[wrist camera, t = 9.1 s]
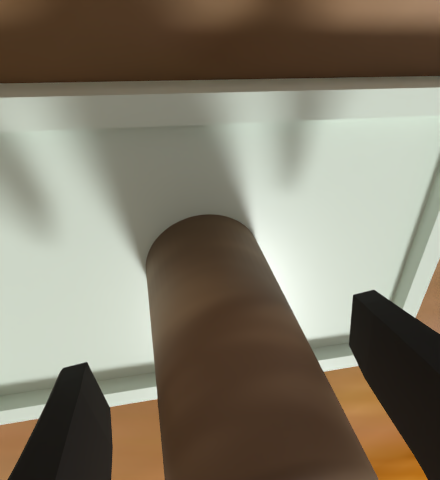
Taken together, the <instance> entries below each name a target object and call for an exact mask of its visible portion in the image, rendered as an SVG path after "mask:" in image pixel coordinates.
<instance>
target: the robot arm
mask: <svg viewBox="0 0 440 480" xmlns="http://www.w3.org/2000/svg"><path fill="white" fill-rule="evenodd" d="M349 347H350V349H351V351H352V353H353V355H354V357H355V359H356V361H357V363H358V365H359V367H360V369H361V371H362V373H363V375H364V377H365V379H366V381H367V383H368V384H369V386H370V387H371V389H372V390H373V392H374V394H375V395H376V397H377V398H378V400H379V401H380V403H381V405H382V406H383V408H384V409H385V411H386V412H387V414H388V416H389V417H390V419H391V420H392V422H393V423H394V425H395V426H396V428H397V429H398V431H399V433H400V434H401V436H402V437H403V439H404V440H405V442H406V443H407V445H408V447H409V448H410V450H411V451H412V453H413V454H414V456H415V458H416V459H417V461H418V463H419V464H420V466H421V468H422V469H423V471H424V473H425V475H426V477H427V478H428V480H440V334H439V333H437V332H435V331H434V330H432V329H431V328H429V327H428V326H426V325H425V324H423V323H422V322H420V321H419V320H418V319H416V318H415V317H413V316H412V315H410V314H409V313H407V312H406V311H404V310H403V309H402V308H400V307H399V306H397V305H396V304H394V303H393V302H391V301H390V300H388V299H387V298H386V297H384V296H383V295H381V294H380V293H378V292H377V291H375V290H370V291H366V292H362V293H358V294H354V295H353V300H352V312H351V324H350V336H349ZM111 469H112V429H111V414H110V407H109V405H108V403H107V401H106V399H105V397H104V395H103V393H102V391H101V389H100V387H99V385H98V383H97V381H96V379H95V377H94V375H93V373H92V371H91V369H90V367H89V365H88V363H87V362H84V363H80V364H77V365H73V366H69V367H65V368H63V369H62V370H61V371H60V373H59V375H58V378H57V380H56V382H55V385H54V387H53V389H52V391H51V393H50V396H49V398H48V400H47V402H46V405H45V407H44V409H43V411H42V413H41V415H40V417H39V419H38V422H37V424H36V426H35V428H34V430H33V432H32V434H31V436H30V438H29V440H28V442H27V444H26V446H25V448H24V450H23V452H22V454H21V456H20V458H19V460H18V462H17V464H16V465H15V467H14V469H13V471H12V473H11V475H10V476H9V478H8V480H111Z"/></svg>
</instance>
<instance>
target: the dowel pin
mask: <svg viewBox="0 0 440 480" xmlns="http://www.w3.org/2000/svg"><path fill="white" fill-rule="evenodd" d="M146 277H147V288H148V299H149V310H150V321H151V332H152V343H153V354H154V365H155V376H156V387H157V398H158V409H159V420H160V431H161V442H162V453H163V464H164V475H165V480H378V477H377V475H376V474H375V472H374V470H373V468H372V466H371V464H370V462H369V460H368V458H367V456H366V454H365V452H364V450H363V448H362V446H361V444H360V442H359V440H358V438H357V436H356V434H355V432H354V430H353V429H352V427H351V425H350V423H349V421H348V419H347V417H346V415H345V413H344V411H343V409H342V407H341V405H340V403H339V401H338V399H337V397H336V395H335V393H334V391H333V389H332V387H331V385H330V384H329V382H328V380H327V378H326V376H325V374H324V372H323V370H322V368H321V366H320V364H319V362H318V360H317V358H316V356H315V354H314V352H313V350H312V348H311V346H310V344H309V342H308V340H307V338H306V337H305V335H304V333H303V331H302V329H301V327H300V325H299V323H298V321H297V319H296V317H295V315H294V313H293V311H292V309H291V307H290V305H289V303H288V301H287V299H286V297H285V295H284V293H283V292H282V290H281V288H280V286H279V284H278V282H277V280H276V278H275V276H274V274H273V272H272V270H271V268H270V266H269V264H268V262H267V260H266V258H265V256H264V254H263V252H262V250H261V248H260V247H259V245H258V243H257V241H256V239H255V237H254V235H253V234H252V232H251V231H250V230H249V229H248V228H247V227H246V226H245V225H243V224H242V223H240V222H239V221H237V220H235V219H233V218H230V217H226V216H222V215H214V214H206V215H198V216H193V217H189V218H186V219H183V220H181V221H179V222H177V223H175V224H173V225H172V226H170V227H169V228H167V229H166V230H165V231H164V232H162V233H161V234H160V235H159V236H158V238H157V239H156V240H155V241H154V243H153V244H152V246H151V248H150V250H149V252H148V256H147V259H146Z"/></svg>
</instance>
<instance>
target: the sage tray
mask: <svg viewBox="0 0 440 480" xmlns="http://www.w3.org/2000/svg"><path fill="white" fill-rule="evenodd" d="M206 214H214V215H222V216H226V217H230V218H233V219H235V220H237V221H239V222H240V223H242V224H243V225H245V226H246V227H247V228H248V229H249V230H250V231H251V232H252V234H253V235H254V237H255V239H256V241H257V243H258V245H259V247H260V248H261V250H262V252H263V254H264V256H265V258H266V260H267V262H268V264H269V266H270V268H271V270H272V272H273V274H274V276H275V278H276V280H277V282H278V284H279V286H280V288H281V290H282V292H283V293H284V295H285V297H286V299H287V301H288V303H289V305H290V307H291V309H292V311H293V313H294V315H295V317H296V319H297V321H298V323H299V325H300V327H301V329H302V331H303V333H304V335H305V337H306V338H307V340H308V342H309V344H310V346H311V348H312V350H313V352H314V354H315V356H316V358H317V360H318V362H319V364H320V366H321V368H322V370H323V372H324V371H330V370H336V369H342V368H348V367H354V366H359V365H358V363H357V361H356V359H355V357H354V355H353V353H352V351H351V349H350V347H349V336H350V324H351V312H352V300H353V295H354V294H358V293H362V292H366V291H370V290H375V291H377V292H378V293H380V294H381V295H383V296H384V297H386V298H387V299H388V300H390V301H391V302H393V303H394V304H396V305H397V306H399V307H400V308H402V309H403V310H404V311H406V312H407V313H409V314H410V315H412V316H413V317H415V318H416V315H417V313H418V310H419V308H420V305H421V303H422V300H423V298H424V295H425V293H426V290H427V288H428V285H429V283H430V280H431V278H432V276H433V273H434V271H435V268H436V266H437V263H438V261H439V258H440V76H403V77H345V78H287V79H230V80H172V81H114V82H56V83H0V425H3V424H9V423H15V422H21V421H27V420H33V419H39V417H40V415H41V413H42V411H43V409H44V407H45V405H46V402H47V400H48V398H49V396H50V393H51V391H52V389H53V387H54V385H55V382H56V380H57V378H58V375H59V373H60V371H61V370H62V369H63V368H65V367H69V366H73V365H77V364H80V363H84V362H87V363H88V365H89V367H90V369H91V371H92V373H93V375H94V377H95V379H96V381H97V383H98V385H99V387H100V389H101V391H102V393H103V395H104V397H105V399H106V401H107V403H108V405H109V407H112V406H118V405H124V404H130V403H136V402H142V401H148V400H154V399H158V398H157V387H156V376H155V365H154V354H153V343H152V332H151V321H150V310H149V299H148V288H147V277H146V259H147V256H148V252H149V250H150V248H151V246H152V244H153V243H154V241H155V240H156V239H157V238H158V236H159V235H160V234H161V233H162V232H164V231H165V230H166V229H167V228H169V227H170V226H172V225H173V224H175V223H177V222H179V221H181V220H183V219H186V218H189V217H193V216H198V215H206Z"/></svg>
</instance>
